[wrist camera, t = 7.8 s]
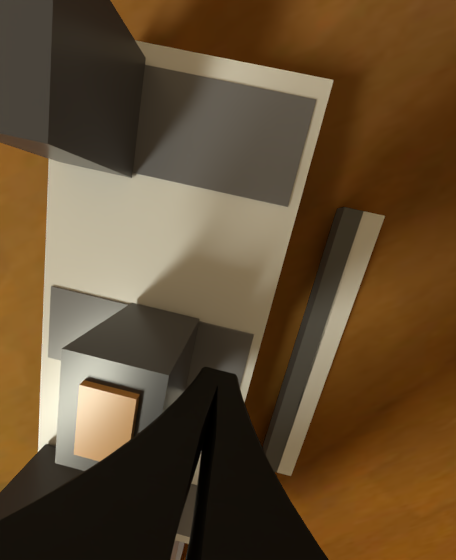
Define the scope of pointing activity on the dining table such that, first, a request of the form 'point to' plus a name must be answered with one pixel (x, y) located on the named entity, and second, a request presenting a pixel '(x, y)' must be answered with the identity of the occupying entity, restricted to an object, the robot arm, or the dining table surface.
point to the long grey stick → (320, 333)
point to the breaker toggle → (120, 381)
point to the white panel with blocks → (151, 190)
